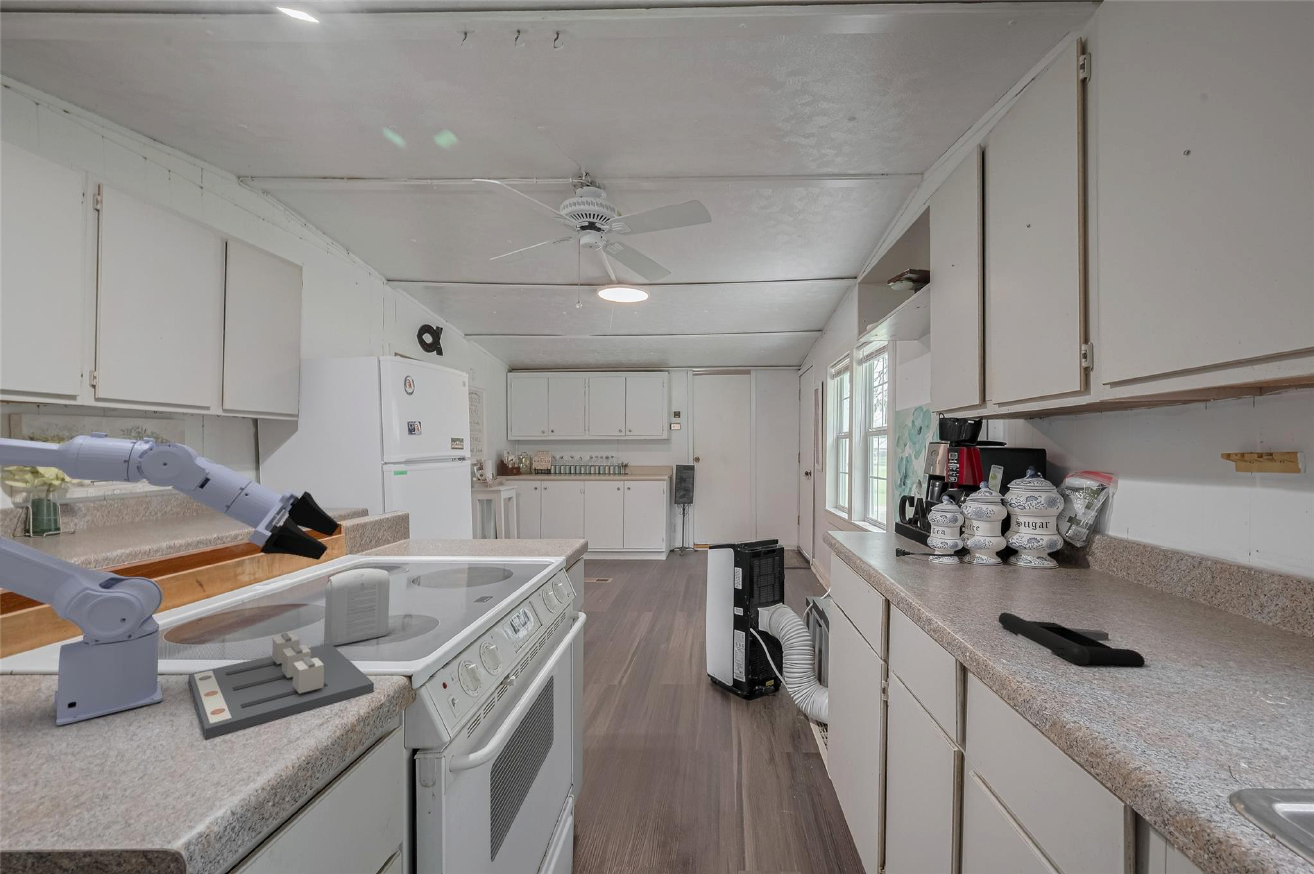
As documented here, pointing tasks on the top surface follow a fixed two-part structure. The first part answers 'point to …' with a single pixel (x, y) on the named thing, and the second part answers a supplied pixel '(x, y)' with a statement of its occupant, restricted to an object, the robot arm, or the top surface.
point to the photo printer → (356, 606)
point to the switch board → (269, 691)
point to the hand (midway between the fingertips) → (329, 541)
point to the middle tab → (293, 657)
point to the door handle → (1071, 642)
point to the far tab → (283, 645)
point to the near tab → (308, 674)
